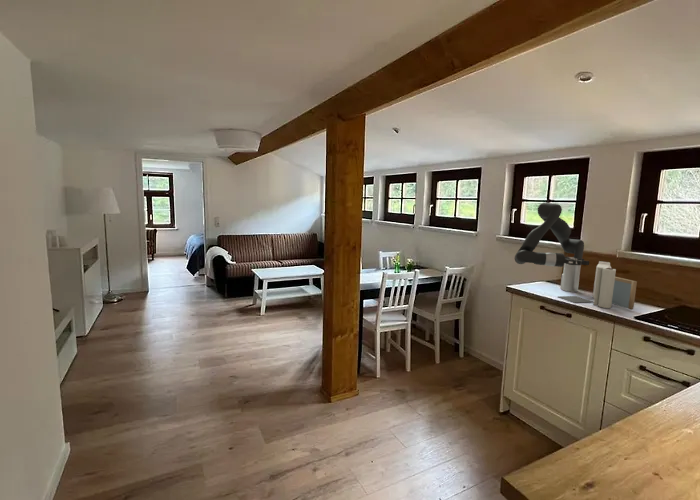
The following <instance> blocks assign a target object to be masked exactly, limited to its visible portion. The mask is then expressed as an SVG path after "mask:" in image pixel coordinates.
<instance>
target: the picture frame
mask: <svg viewBox="0 0 700 500" xmlns="http://www.w3.org/2000/svg"><path fill="white" fill-rule="evenodd" d="M637 283H638V281H636V280H632V279H627V278H623V277H619V276H615V282H614V289H613V297H612V305H615V306H618V307H622V308H625V309H628V310H634V307H635V299H636V291H637V285H638V284H637Z"/></svg>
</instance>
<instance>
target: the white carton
mask: <svg viewBox="0 0 700 500" xmlns="http://www.w3.org/2000/svg"><path fill="white" fill-rule="evenodd" d="M616 271H617V269H616V268H598V271H597V280H596V288H595V296H594V297H593V306H598V307H600V308H603V309H611V308H612V306H613V304H612V297H613V289H614V282H615V277H616Z"/></svg>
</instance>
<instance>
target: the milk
mask: <svg viewBox="0 0 700 500" xmlns="http://www.w3.org/2000/svg"><path fill="white" fill-rule="evenodd" d="M595 267H596V269H595V275H594V276H595V277H594V283H593V290H592V291H593V294H592V298H594V296H595V288H596V280H597V271H598V268H611V269H613V268H612V266H611V262H609V261H602V260H601V261H600V260H599V261H598V264H597V265H596V266H595Z"/></svg>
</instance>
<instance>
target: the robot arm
mask: <svg viewBox="0 0 700 500" xmlns="http://www.w3.org/2000/svg"><path fill="white" fill-rule="evenodd" d="M562 210H563V209H562V206H561V205H560V204H558V203H553V202H549V201H548V202H546V201H545V202H542V203H540V204H539V205H538V207H537V215H538V216H539V218H541V220H543V221H544V222H542V224H540V225H539V226H537V227H536V228H534V229H532V230H531V231H530V232H529V233H528V234H527V236H526V238H524V240H523V242H522V245H521V246H520V248H519V249H518V251H517V252H516V254H515V255H514V261H515V263H517V264H518V265H524V264H526V263H529V264H530V263H531V264H535V265H538V266H546V267H558V268H559V267H560V268H562V267H563V273H562V274H561V279H560V288H559V289H560V290H562V291H565V292H570V293H571V292H572V293H577V292H578V291H579V284H580V283H579V282H580V276H581V275H580V274H581V266H589V265H590V260H585V259H584V258H583V255H584V249H585V242H584V241H583V240H582V239H576V238H570V235H571V234H572V229H571V227H570V226H569V224H568V222H567V221H565V220H564V219H562V218H561V217H560V216H561V215H562V212H563V211H562ZM549 230H551V232H552V233H553V235H554V236H555V237H556V239H557V241H558V242H559V243H560V246H561V248H562V250H563V251H564V252H565V253H566V254H574V256H565V254H564V253H563V252H560V253H559V252H535V251H534V250H535V249H536V248H537V246H538V244H539V243H540V241H541V240H542V238H543V237H544V236H545V234H546V233H547V232H548V231H549Z"/></svg>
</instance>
